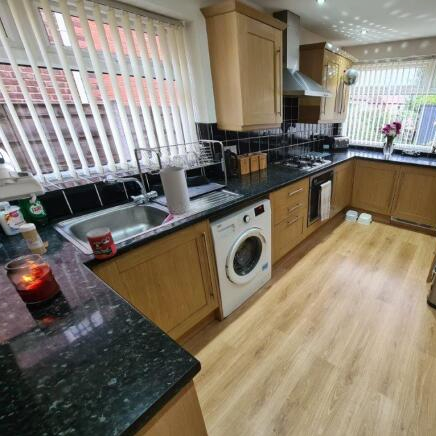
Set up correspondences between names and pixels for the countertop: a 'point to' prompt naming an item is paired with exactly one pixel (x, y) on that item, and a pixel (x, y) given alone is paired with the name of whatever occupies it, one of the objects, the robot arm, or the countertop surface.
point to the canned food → (101, 243)
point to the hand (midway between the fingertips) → (18, 207)
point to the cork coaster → (45, 244)
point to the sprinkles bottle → (32, 238)
